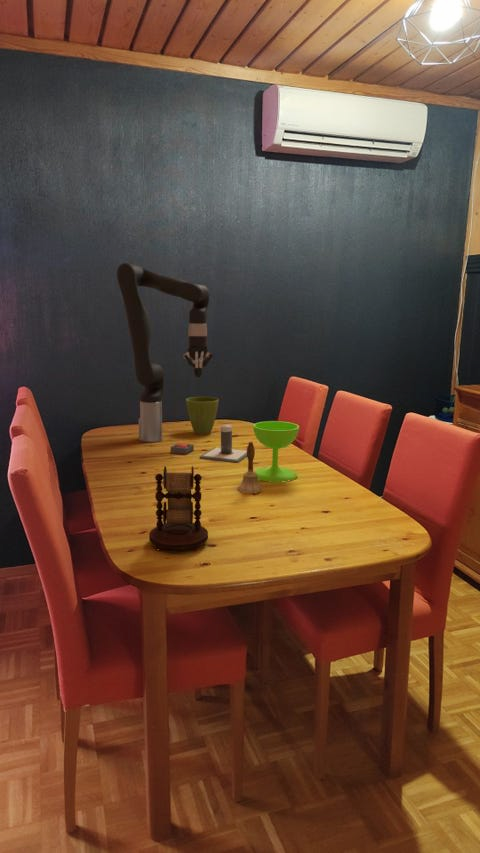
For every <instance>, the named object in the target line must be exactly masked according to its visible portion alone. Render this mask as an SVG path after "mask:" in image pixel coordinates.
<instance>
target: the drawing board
mask: <svg viewBox="0 0 480 853" xmlns="http://www.w3.org/2000/svg"><path fill="white" fill-rule="evenodd" d="M246 458H247V449H246V450H245V449H235V448H232V453H231V454H221V447H218V446H217V447H216V446H215V447H213V448H212V449H210V450H208V451H207V452H205V453H203V454H201V455H199V459H201V460H202V459H203V460H211V461H217V462H219V461H220V462H228V463H234V464H235V463H236V464H237V463H238V464H239V463H240V462H242V461H243V460H244V459H246Z"/></svg>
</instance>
